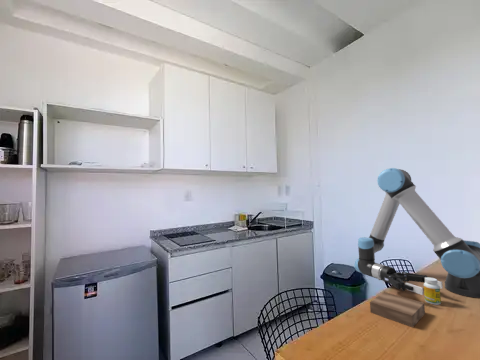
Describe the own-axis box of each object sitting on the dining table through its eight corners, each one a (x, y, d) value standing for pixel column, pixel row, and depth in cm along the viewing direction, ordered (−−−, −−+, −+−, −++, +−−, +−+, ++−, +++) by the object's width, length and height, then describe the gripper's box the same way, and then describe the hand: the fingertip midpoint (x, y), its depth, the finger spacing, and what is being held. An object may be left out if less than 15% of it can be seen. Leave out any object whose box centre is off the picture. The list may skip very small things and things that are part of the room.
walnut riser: (384, 301, 102) (384, 291, 102) (425, 313, 91) (424, 302, 92) (370, 312, 94) (369, 301, 94) (412, 327, 83) (412, 315, 83)
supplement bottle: (427, 298, 104) (426, 275, 105) (443, 302, 100) (441, 279, 100) (422, 301, 101) (420, 278, 102) (438, 306, 97) (436, 282, 97)
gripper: (401, 276, 124) (450, 291, 105) (367, 285, 114) (414, 303, 95) (400, 261, 125) (448, 274, 105) (366, 269, 115) (413, 284, 95)
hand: (432, 288), depth 100 cm, fingers open, 13 cm apart
